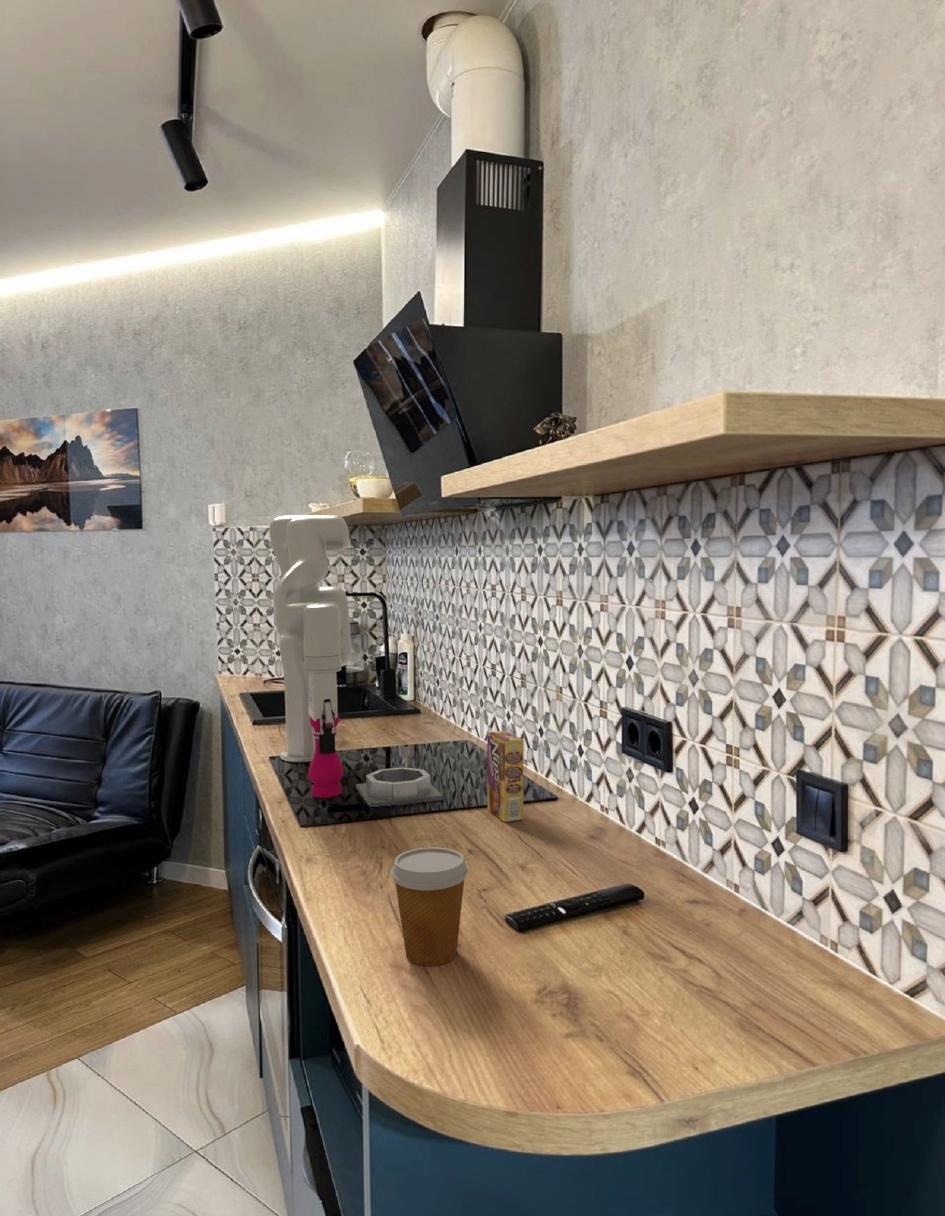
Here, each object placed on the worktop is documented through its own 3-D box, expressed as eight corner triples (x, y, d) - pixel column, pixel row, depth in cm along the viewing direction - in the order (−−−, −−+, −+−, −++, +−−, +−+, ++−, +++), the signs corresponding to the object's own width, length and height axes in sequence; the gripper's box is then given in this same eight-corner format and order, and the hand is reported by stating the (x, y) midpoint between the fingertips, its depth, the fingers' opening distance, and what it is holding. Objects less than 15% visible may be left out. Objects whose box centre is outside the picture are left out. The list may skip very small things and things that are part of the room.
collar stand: (356, 788, 179) (355, 770, 179) (424, 781, 183) (423, 763, 183) (369, 808, 165) (369, 788, 164) (443, 800, 169) (442, 780, 169)
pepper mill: (347, 789, 179) (345, 696, 177) (339, 799, 171) (336, 702, 170) (314, 789, 179) (311, 696, 178) (304, 798, 172) (301, 702, 171)
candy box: (525, 820, 156) (524, 739, 155) (504, 823, 154) (502, 741, 153) (507, 807, 164) (506, 730, 163) (486, 809, 162) (485, 732, 161)
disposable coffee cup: (485, 953, 104) (483, 858, 103) (427, 981, 97) (425, 880, 96) (434, 929, 111) (432, 840, 110) (377, 954, 104) (374, 860, 103)
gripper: (299, 660, 181) (302, 743, 182) (309, 670, 164) (312, 761, 166) (334, 658, 183) (337, 740, 184) (347, 667, 167) (350, 757, 168)
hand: (325, 749), depth 175 cm, fingers closed on pepper mill, 5 cm apart
